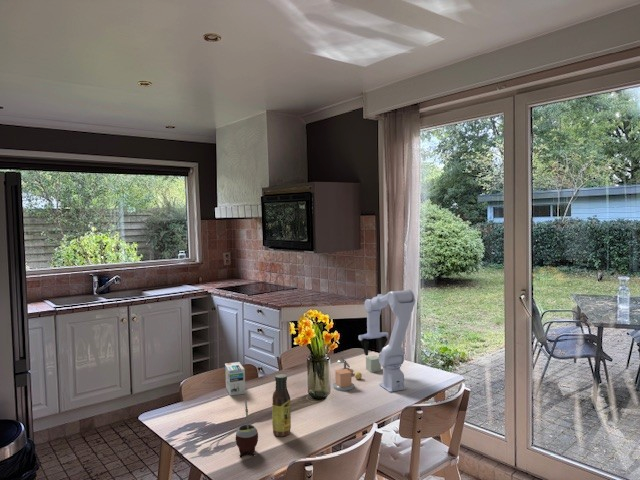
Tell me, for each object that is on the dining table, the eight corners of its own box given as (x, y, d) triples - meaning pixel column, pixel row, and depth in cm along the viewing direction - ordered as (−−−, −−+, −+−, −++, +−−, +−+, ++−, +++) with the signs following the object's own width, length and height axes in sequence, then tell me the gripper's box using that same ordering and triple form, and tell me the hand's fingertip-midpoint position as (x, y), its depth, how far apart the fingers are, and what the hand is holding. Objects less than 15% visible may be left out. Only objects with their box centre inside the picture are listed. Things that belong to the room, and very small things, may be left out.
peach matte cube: (351, 386, 200) (351, 372, 200) (340, 387, 198) (340, 374, 198) (346, 382, 205) (346, 368, 204) (335, 383, 203) (335, 370, 202)
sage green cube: (380, 370, 221) (380, 358, 220) (371, 372, 219) (371, 359, 219) (375, 367, 226) (375, 355, 225) (366, 369, 224) (365, 356, 223)
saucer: (357, 388, 199) (357, 387, 199) (338, 392, 195) (338, 390, 195) (348, 381, 207) (348, 380, 207) (330, 385, 204) (330, 383, 204)
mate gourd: (247, 461, 142) (245, 413, 141) (229, 453, 147) (228, 406, 146) (264, 451, 148) (263, 404, 147) (246, 443, 152) (245, 399, 152)
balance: (354, 374, 216) (354, 362, 216) (347, 376, 214) (346, 364, 214) (343, 366, 228) (343, 355, 228) (335, 367, 226) (335, 356, 226)
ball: (363, 379, 210) (362, 372, 209) (356, 380, 208) (356, 373, 208) (359, 377, 212) (359, 370, 212) (353, 378, 211) (353, 371, 211)
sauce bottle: (288, 438, 156) (287, 380, 155) (270, 436, 157) (269, 378, 156) (293, 429, 162) (292, 373, 161) (275, 427, 164) (274, 372, 162)
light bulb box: (245, 393, 195) (245, 368, 195) (229, 396, 193) (229, 370, 192) (240, 385, 205) (239, 361, 205) (225, 387, 203) (224, 363, 202)
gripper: (382, 321, 221) (383, 349, 221) (355, 324, 215) (355, 353, 216) (390, 324, 214) (390, 353, 215) (362, 327, 209) (362, 357, 210)
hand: (373, 353), depth 215 cm, fingers open, 7 cm apart
